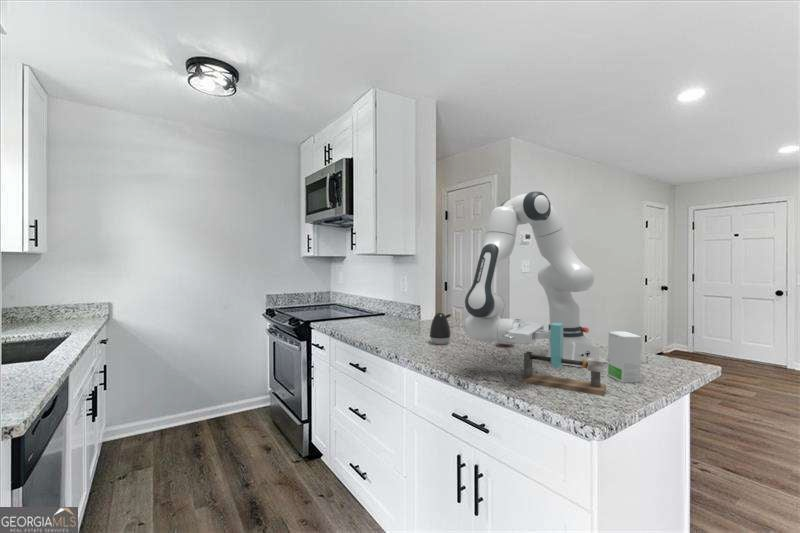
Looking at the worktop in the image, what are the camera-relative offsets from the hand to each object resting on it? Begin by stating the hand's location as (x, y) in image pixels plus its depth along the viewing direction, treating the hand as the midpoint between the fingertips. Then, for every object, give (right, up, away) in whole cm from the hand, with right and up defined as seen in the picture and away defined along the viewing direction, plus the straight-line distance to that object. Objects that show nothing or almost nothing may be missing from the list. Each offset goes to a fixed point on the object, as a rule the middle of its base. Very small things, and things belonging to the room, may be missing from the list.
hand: (551, 335), depth 125 cm
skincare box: (+26, -16, +4) cm, 31 cm away
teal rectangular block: (+1, -10, -1) cm, 10 cm away
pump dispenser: (-30, -15, +62) cm, 71 cm away
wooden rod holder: (+3, -16, -2) cm, 16 cm away
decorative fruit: (0, -15, +55) cm, 57 cm away
